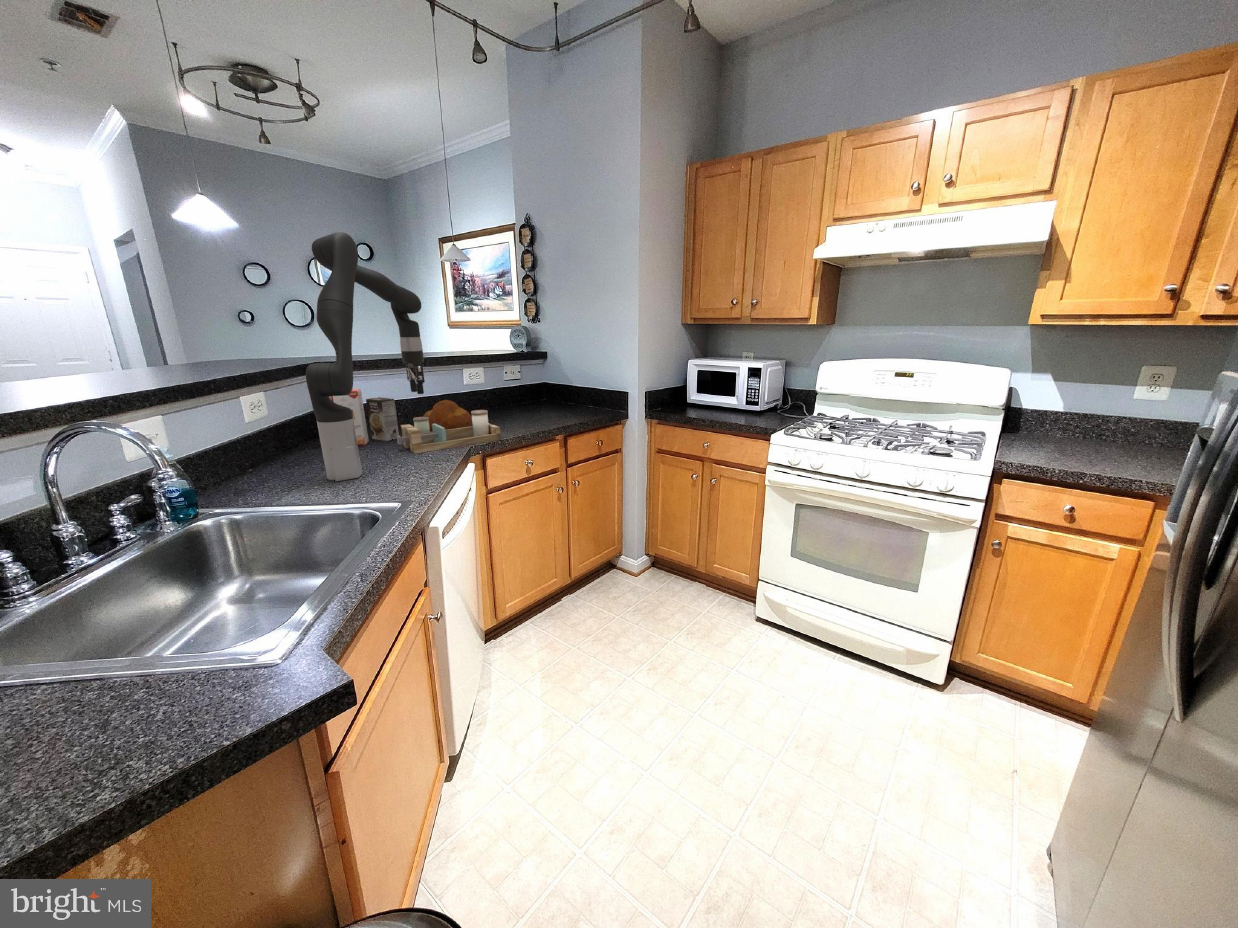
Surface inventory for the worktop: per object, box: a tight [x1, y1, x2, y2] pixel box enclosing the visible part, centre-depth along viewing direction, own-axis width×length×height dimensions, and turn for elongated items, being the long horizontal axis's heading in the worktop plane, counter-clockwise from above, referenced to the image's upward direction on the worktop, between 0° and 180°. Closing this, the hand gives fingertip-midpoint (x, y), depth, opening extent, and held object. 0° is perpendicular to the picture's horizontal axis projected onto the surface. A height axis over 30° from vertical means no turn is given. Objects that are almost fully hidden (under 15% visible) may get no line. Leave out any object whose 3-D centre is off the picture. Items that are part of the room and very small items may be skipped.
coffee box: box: [365, 397, 400, 442], centre depth 191 cm, size 9×6×16 cm
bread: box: [422, 399, 473, 432], centre depth 210 cm, size 21×33×12 cm, turn 5°
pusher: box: [396, 424, 446, 446], centre depth 176 cm, size 11×15×7 cm
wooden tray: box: [400, 422, 502, 454], centre depth 183 cm, size 14×33×8 cm, turn 128°
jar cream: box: [470, 409, 489, 437], centre depth 189 cm, size 6×6×11 cm
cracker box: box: [329, 388, 370, 446], centre depth 181 cm, size 14×6×21 cm, turn 105°
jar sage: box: [412, 416, 430, 433], centre depth 189 cm, size 6×6×9 cm
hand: (417, 393), depth 185 cm, fingers open, 8 cm apart
